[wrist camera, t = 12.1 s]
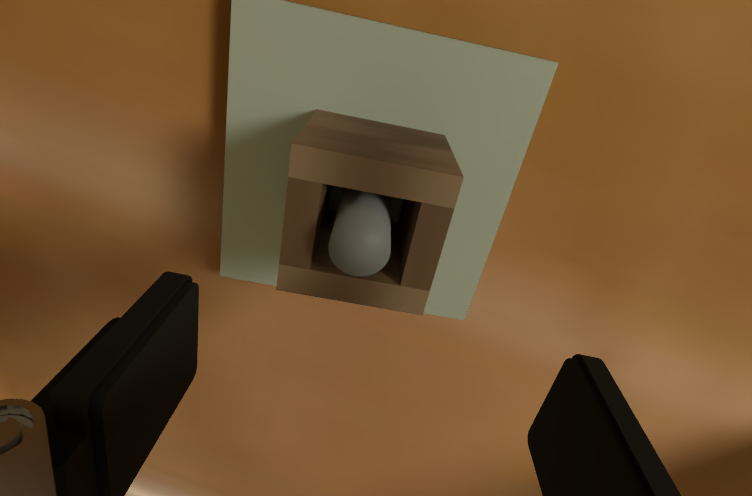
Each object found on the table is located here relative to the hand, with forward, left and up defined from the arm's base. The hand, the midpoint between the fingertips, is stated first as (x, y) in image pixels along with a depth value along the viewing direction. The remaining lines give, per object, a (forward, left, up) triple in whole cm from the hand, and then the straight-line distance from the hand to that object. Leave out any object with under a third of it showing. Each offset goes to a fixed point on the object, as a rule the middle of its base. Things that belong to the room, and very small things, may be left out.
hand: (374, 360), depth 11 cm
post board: (+1, 0, -14) cm, 13 cm away
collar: (+1, 0, -12) cm, 12 cm away
